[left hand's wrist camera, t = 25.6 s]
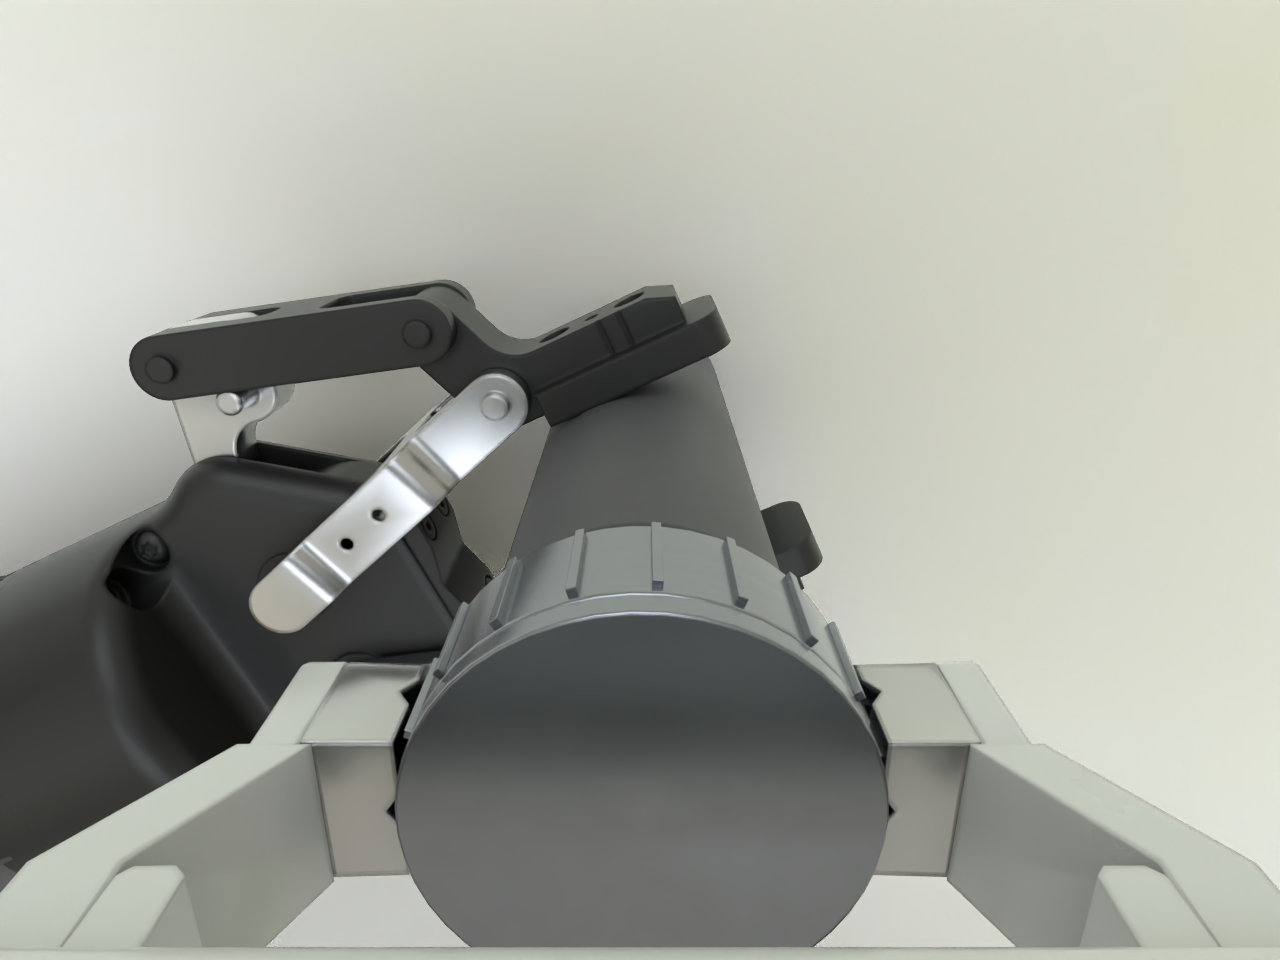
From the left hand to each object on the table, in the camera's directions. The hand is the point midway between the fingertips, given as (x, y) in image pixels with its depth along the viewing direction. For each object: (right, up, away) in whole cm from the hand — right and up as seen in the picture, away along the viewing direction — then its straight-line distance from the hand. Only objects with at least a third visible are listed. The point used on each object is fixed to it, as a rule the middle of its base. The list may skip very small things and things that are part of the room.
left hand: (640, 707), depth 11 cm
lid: (0, -1, -2) cm, 2 cm away
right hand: (+2, +4, +7) cm, 8 cm away
